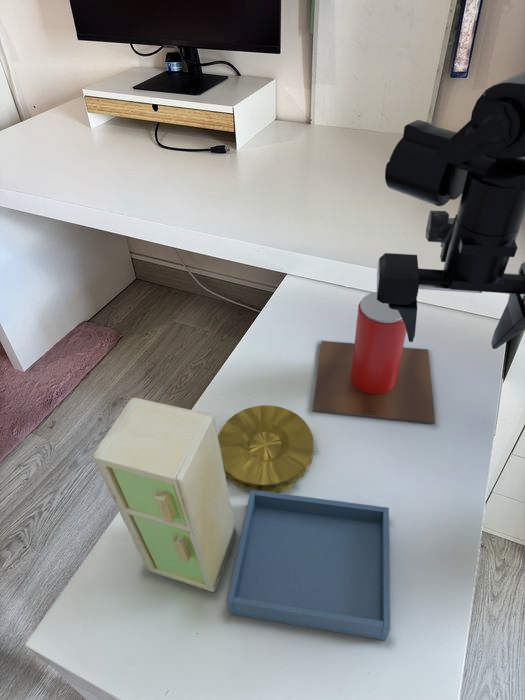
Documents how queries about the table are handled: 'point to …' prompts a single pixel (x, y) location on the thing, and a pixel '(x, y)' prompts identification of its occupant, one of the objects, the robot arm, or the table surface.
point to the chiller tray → (313, 564)
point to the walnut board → (398, 404)
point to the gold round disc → (266, 448)
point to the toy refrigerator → (170, 490)
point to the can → (377, 346)
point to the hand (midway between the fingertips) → (451, 342)
